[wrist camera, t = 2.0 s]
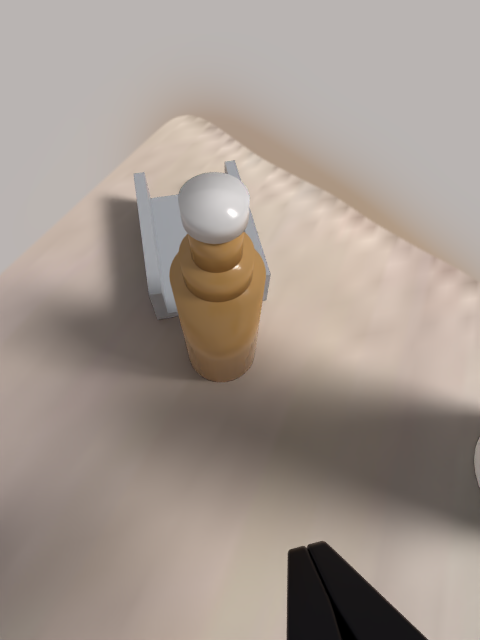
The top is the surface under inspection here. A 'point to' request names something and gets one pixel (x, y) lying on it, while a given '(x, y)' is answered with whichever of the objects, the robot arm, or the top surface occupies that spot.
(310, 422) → the top surface
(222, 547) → the top surface
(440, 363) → the top surface
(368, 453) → the top surface
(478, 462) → the cylindrical container
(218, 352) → the amber bottle
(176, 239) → the grey cradle
